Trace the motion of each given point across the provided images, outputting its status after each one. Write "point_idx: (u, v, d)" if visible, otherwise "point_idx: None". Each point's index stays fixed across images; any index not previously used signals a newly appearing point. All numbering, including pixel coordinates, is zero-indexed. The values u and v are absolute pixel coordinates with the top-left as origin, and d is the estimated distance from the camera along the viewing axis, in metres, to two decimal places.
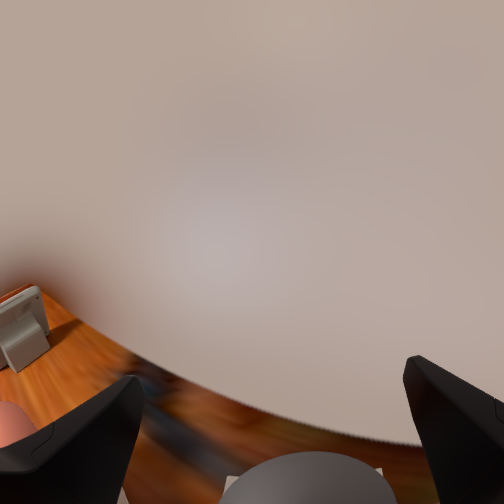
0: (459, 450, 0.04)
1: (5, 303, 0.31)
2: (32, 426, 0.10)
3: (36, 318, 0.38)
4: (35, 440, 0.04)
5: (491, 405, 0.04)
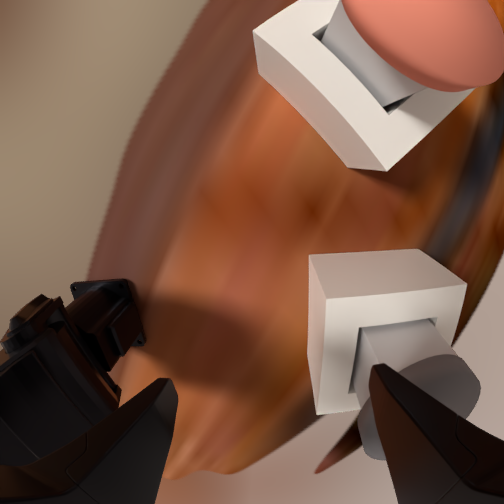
0: (416, 467, 0.04)
1: None
2: None
3: None
4: (67, 454, 0.04)
5: (452, 423, 0.04)
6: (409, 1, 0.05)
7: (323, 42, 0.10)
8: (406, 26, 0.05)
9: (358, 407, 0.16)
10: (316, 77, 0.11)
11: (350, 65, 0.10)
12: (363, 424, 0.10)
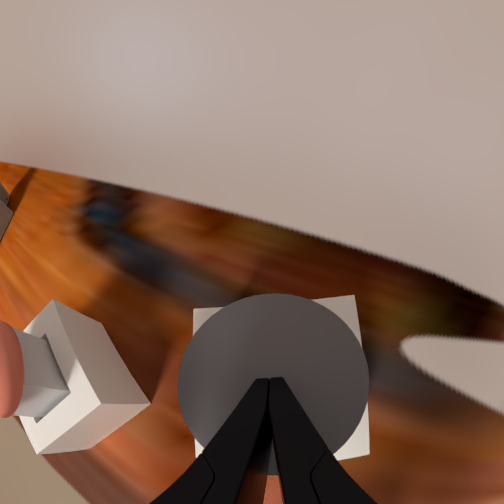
0: (281, 492, 0.04)
1: None
2: (6, 330, 0.11)
3: None
4: (191, 486, 0.04)
5: (315, 457, 0.04)
6: None
7: (42, 416, 0.14)
8: None
9: None
10: (56, 432, 0.13)
11: (51, 406, 0.14)
12: None
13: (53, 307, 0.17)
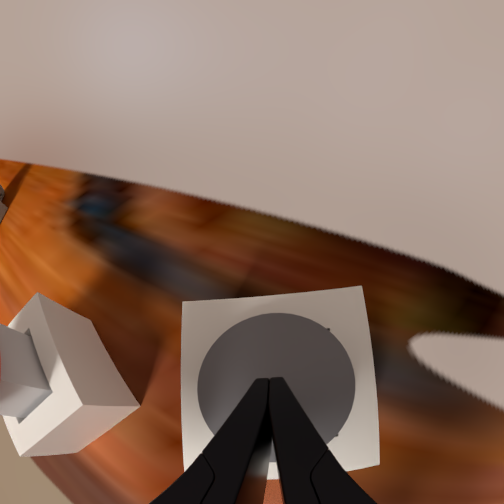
0: (281, 492, 0.04)
1: None
2: None
3: None
4: (192, 486, 0.04)
5: (315, 457, 0.04)
6: None
7: (25, 417, 0.12)
8: None
9: (372, 410, 0.10)
10: (38, 434, 0.11)
11: (33, 406, 0.12)
12: None
13: (37, 301, 0.15)
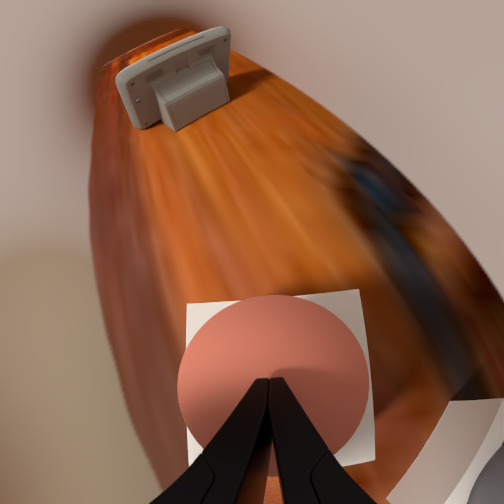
0: (281, 492, 0.04)
1: (175, 46, 0.25)
2: None
3: (216, 64, 0.32)
4: (192, 486, 0.04)
5: (315, 457, 0.04)
6: None
7: None
8: None
9: None
10: None
11: None
12: None
13: (356, 302, 0.14)
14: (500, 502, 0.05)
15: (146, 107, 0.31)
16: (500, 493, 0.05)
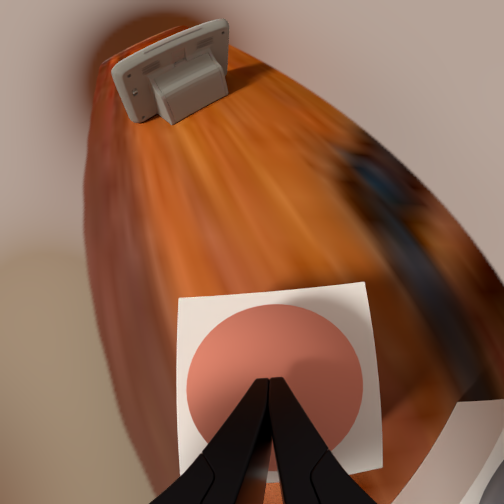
0: (281, 492, 0.04)
1: (172, 38, 0.24)
2: None
3: (214, 57, 0.30)
4: (192, 487, 0.04)
5: (315, 457, 0.04)
6: None
7: None
8: None
9: None
10: None
11: None
12: None
13: (361, 296, 0.12)
14: None
15: (142, 100, 0.30)
16: None
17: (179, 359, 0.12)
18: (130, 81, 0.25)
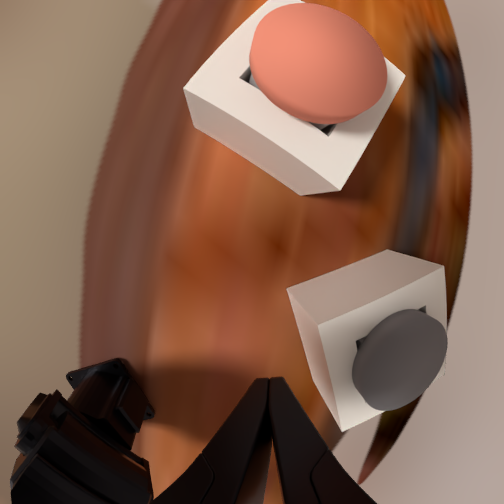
0: (281, 492, 0.04)
1: None
2: None
3: None
4: (192, 486, 0.04)
5: (315, 457, 0.04)
6: (301, 64, 0.10)
7: None
8: (302, 88, 0.10)
9: (379, 411, 0.16)
10: (253, 120, 0.12)
11: None
12: (357, 382, 0.14)
13: (398, 79, 0.12)
14: (391, 366, 0.13)
15: None
16: (398, 353, 0.13)
17: (254, 15, 0.11)
18: None
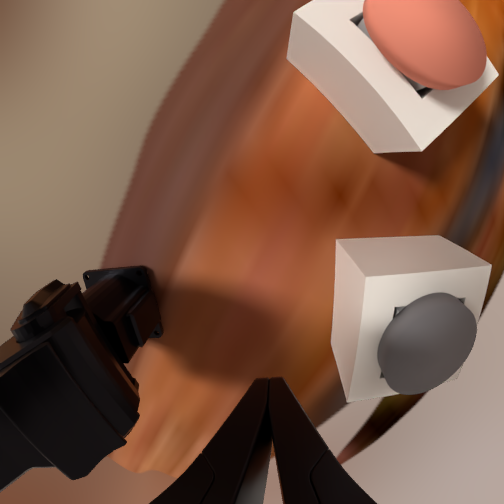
0: (281, 492, 0.04)
1: None
2: None
3: None
4: (192, 486, 0.04)
5: (315, 457, 0.04)
6: (413, 24, 0.07)
7: None
8: (411, 43, 0.08)
9: (388, 393, 0.16)
10: (355, 59, 0.10)
11: None
12: (383, 352, 0.14)
13: (492, 75, 0.09)
14: (420, 345, 0.13)
15: None
16: (430, 334, 0.12)
17: None
18: None
